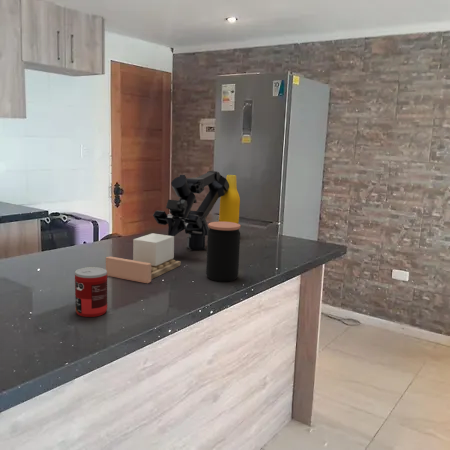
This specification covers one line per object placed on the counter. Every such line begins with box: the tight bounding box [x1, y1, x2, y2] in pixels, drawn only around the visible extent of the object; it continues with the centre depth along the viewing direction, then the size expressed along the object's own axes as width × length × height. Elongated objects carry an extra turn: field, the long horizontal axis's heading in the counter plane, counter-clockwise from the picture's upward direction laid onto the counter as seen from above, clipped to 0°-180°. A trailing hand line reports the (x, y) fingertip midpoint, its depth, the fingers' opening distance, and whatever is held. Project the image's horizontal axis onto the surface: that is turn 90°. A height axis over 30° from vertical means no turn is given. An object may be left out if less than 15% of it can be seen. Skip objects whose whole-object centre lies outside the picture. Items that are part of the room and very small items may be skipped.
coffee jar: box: [205, 221, 242, 283], centre depth 153 cm, size 11×11×18 cm
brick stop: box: [105, 256, 152, 284], centre depth 148 cm, size 2×16×6 cm, turn 66°
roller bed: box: [151, 258, 182, 280], centre depth 159 cm, size 21×14×2 cm, turn 156°
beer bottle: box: [218, 174, 241, 224], centre depth 211 cm, size 9×9×29 cm
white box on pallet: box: [132, 232, 175, 266], centre depth 161 cm, size 12×9×8 cm
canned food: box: [74, 266, 108, 318], centre depth 119 cm, size 8×8×11 cm
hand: (169, 238), depth 170 cm, fingers closed
